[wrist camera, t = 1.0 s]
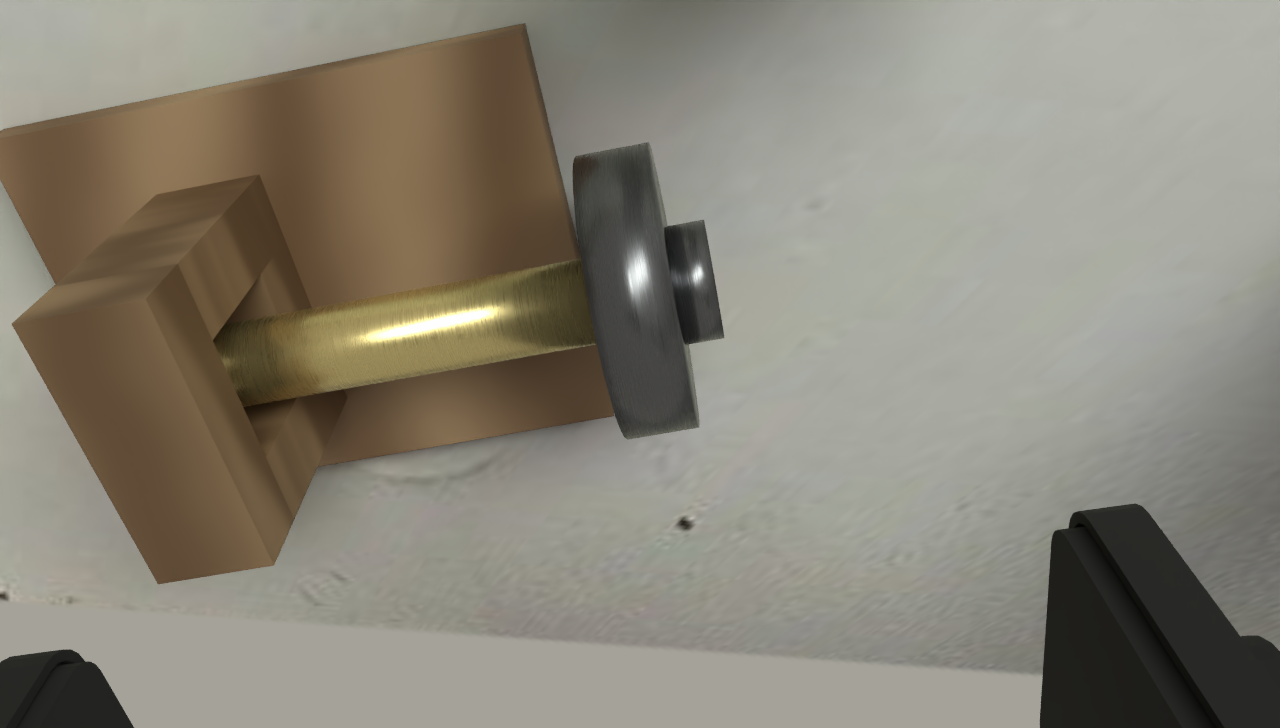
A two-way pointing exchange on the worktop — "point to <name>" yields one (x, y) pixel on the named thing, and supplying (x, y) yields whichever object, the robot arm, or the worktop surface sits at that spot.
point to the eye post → (284, 276)
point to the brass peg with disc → (522, 312)
